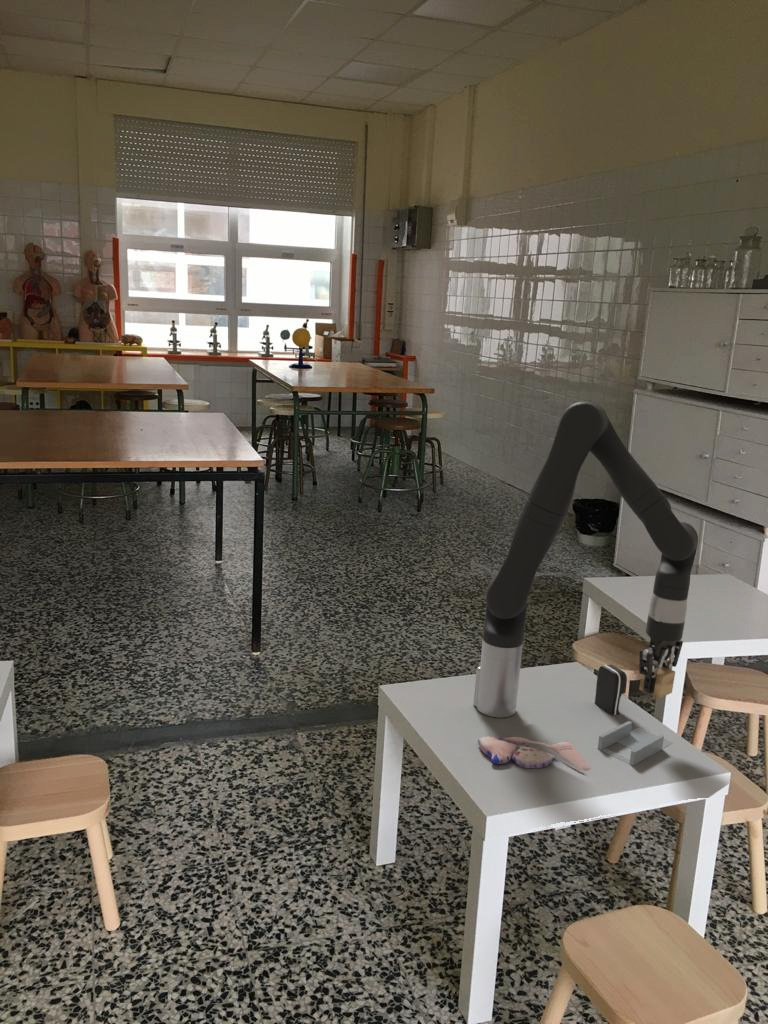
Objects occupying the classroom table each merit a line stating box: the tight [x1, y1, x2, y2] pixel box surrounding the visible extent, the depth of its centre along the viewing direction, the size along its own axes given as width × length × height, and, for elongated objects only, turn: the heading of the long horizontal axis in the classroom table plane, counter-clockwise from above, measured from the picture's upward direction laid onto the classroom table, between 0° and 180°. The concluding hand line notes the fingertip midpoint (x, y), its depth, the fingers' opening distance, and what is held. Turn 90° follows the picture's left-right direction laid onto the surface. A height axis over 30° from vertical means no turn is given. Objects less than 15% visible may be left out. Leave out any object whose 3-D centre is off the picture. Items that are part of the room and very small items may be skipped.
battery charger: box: [594, 664, 628, 716], centre depth 200 cm, size 7×4×11 cm, turn 25°
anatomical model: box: [477, 736, 592, 775], centre depth 177 cm, size 20×3×15 cm
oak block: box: [638, 666, 676, 699], centre depth 183 cm, size 5×5×5 cm
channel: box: [597, 720, 673, 766], centre depth 183 cm, size 9×16×4 cm, turn 132°
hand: (655, 688), depth 184 cm, fingers closed on oak block, 5 cm apart
